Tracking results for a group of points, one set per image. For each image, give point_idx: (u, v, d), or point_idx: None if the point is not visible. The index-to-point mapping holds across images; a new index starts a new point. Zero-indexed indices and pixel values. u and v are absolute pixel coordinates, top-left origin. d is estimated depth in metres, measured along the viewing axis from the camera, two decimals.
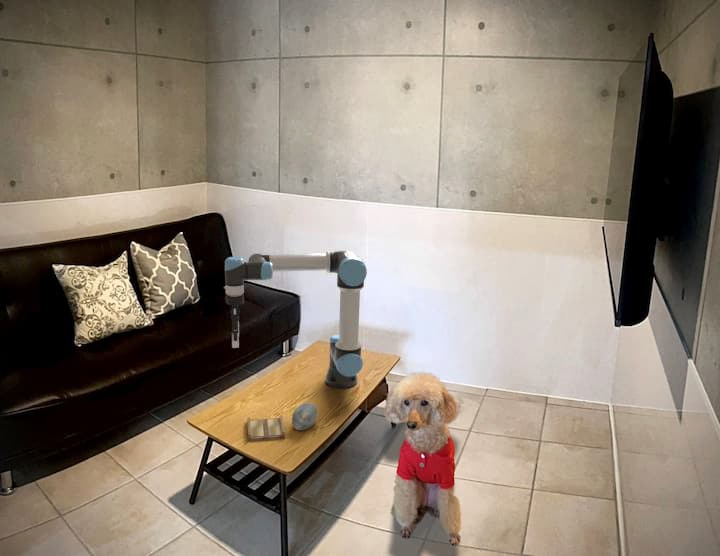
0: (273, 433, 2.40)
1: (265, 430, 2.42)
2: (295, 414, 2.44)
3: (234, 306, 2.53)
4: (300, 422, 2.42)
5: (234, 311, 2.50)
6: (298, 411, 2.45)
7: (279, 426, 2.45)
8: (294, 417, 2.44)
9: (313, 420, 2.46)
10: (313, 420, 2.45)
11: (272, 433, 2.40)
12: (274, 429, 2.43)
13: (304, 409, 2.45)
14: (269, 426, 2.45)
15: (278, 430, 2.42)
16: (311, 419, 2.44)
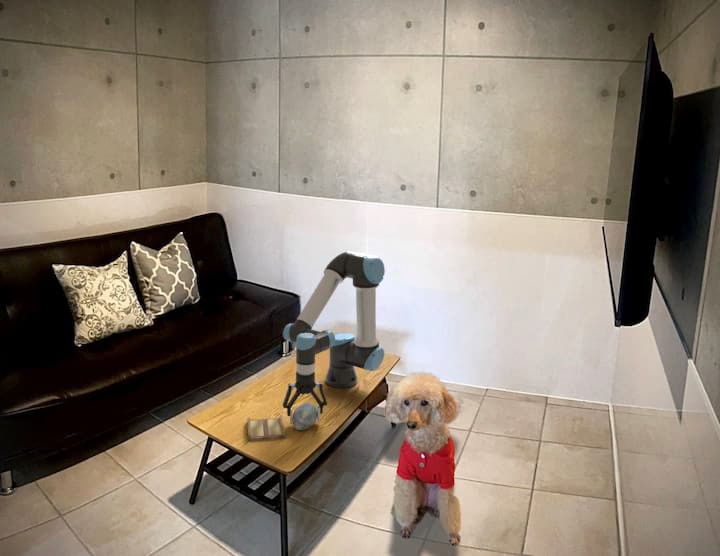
0: (273, 433, 2.40)
1: (265, 430, 2.42)
2: (295, 414, 2.44)
3: None
4: (301, 422, 2.42)
5: (288, 386, 2.44)
6: (298, 411, 2.44)
7: (279, 426, 2.45)
8: (294, 417, 2.44)
9: (313, 420, 2.46)
10: (313, 420, 2.45)
11: (272, 433, 2.40)
12: (274, 429, 2.43)
13: (304, 409, 2.45)
14: (269, 426, 2.45)
15: (278, 430, 2.42)
16: (311, 419, 2.44)
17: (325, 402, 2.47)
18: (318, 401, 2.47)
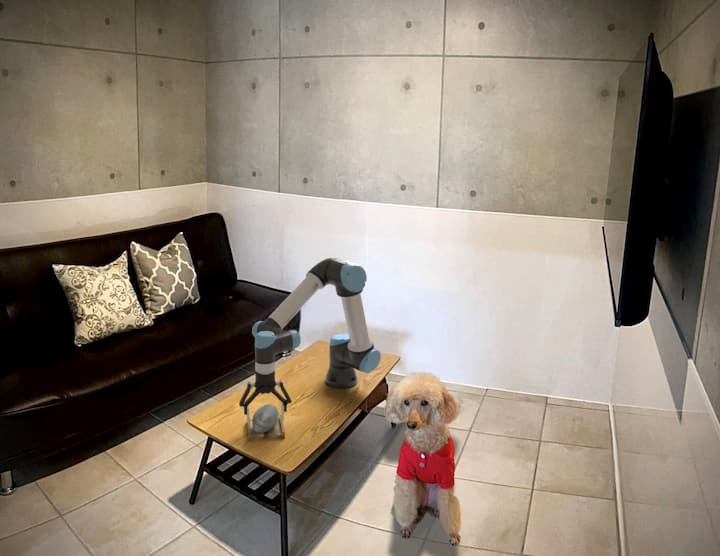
0: (273, 433, 2.40)
1: None
2: (255, 416, 2.39)
3: (255, 381, 2.38)
4: (260, 424, 2.36)
5: (247, 384, 2.38)
6: (258, 413, 2.39)
7: (279, 426, 2.45)
8: (254, 419, 2.38)
9: (274, 422, 2.40)
10: (273, 422, 2.40)
11: (272, 433, 2.40)
12: (274, 429, 2.43)
13: (264, 411, 2.40)
14: None
15: (278, 430, 2.42)
16: (272, 421, 2.39)
17: (289, 400, 2.42)
18: (281, 399, 2.41)
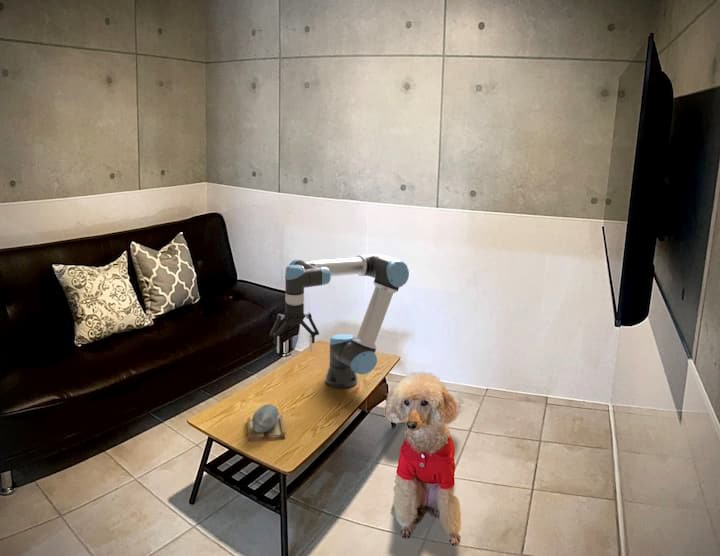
0: (273, 433, 2.40)
1: None
2: (255, 416, 2.39)
3: (285, 312, 2.50)
4: (260, 424, 2.36)
5: None
6: (258, 413, 2.39)
7: (279, 426, 2.45)
8: (254, 419, 2.38)
9: (274, 422, 2.40)
10: (273, 422, 2.40)
11: (272, 433, 2.40)
12: (274, 429, 2.43)
13: (264, 411, 2.40)
14: None
15: (278, 430, 2.42)
16: (272, 421, 2.39)
17: (317, 331, 2.54)
18: (309, 331, 2.53)
